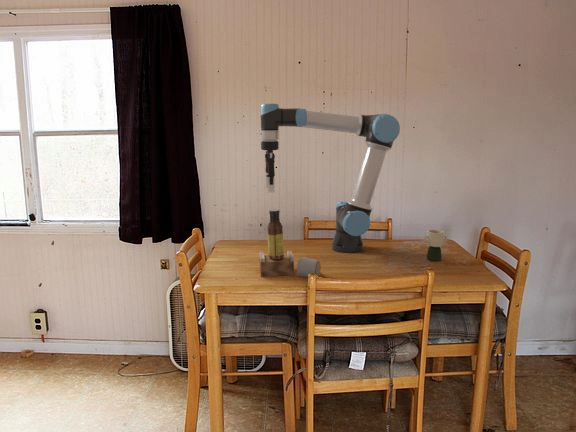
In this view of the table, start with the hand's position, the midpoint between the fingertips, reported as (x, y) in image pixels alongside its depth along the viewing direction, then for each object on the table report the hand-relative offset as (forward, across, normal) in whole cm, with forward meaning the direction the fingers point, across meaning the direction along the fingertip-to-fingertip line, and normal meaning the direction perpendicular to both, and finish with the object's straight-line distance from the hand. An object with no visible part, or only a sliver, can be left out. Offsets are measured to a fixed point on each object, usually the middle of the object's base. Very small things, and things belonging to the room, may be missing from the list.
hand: (270, 190), depth 211 cm
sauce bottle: (+25, +21, +1) cm, 33 cm away
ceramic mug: (+31, +26, +14) cm, 43 cm away
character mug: (+31, +10, +72) cm, 79 cm away
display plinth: (+31, +21, +1) cm, 37 cm away
